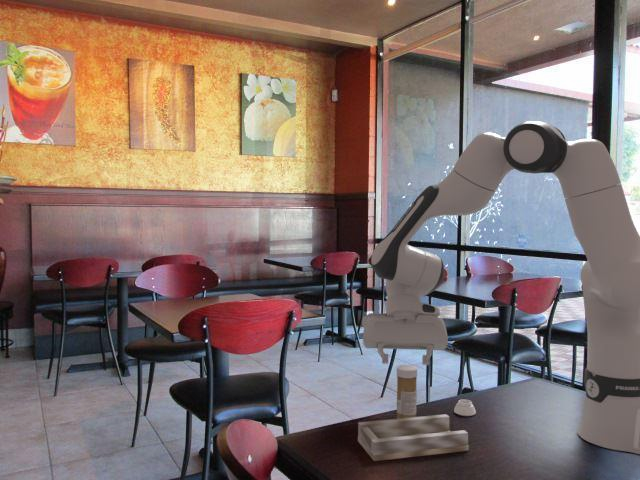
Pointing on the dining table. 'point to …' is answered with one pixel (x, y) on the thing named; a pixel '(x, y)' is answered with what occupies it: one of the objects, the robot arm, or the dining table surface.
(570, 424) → the dining table surface
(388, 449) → the track
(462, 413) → the lidless jar
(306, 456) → the dining table surface
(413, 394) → the sprinkles bottle
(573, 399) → the dining table surface
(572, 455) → the dining table surface
